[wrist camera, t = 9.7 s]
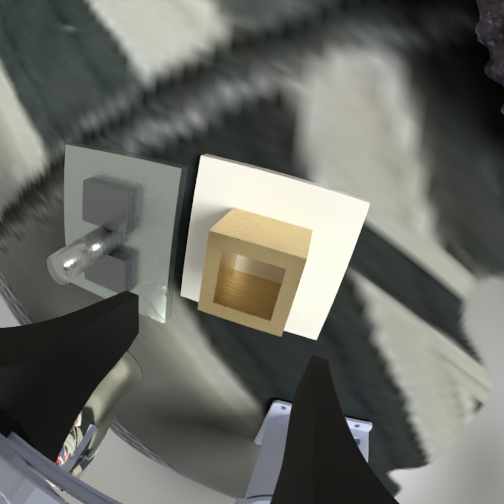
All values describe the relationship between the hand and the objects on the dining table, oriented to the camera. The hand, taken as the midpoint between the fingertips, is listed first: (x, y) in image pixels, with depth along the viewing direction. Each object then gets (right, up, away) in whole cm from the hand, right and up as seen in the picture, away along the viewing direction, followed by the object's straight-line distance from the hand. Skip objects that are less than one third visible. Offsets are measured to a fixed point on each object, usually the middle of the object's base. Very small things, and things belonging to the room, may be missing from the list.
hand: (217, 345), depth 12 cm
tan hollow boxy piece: (+2, +3, +8) cm, 9 cm away
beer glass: (-12, -8, +17) cm, 23 cm away
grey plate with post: (-9, +5, +11) cm, 15 cm away
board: (+2, +4, +8) cm, 9 cm away
